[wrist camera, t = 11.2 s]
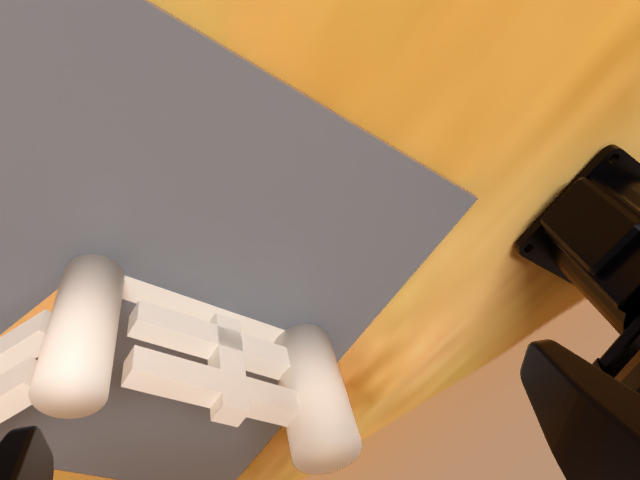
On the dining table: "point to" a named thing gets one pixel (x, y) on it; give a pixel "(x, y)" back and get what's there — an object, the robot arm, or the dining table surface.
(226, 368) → the fence fixed
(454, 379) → the dining table surface
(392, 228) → the card
